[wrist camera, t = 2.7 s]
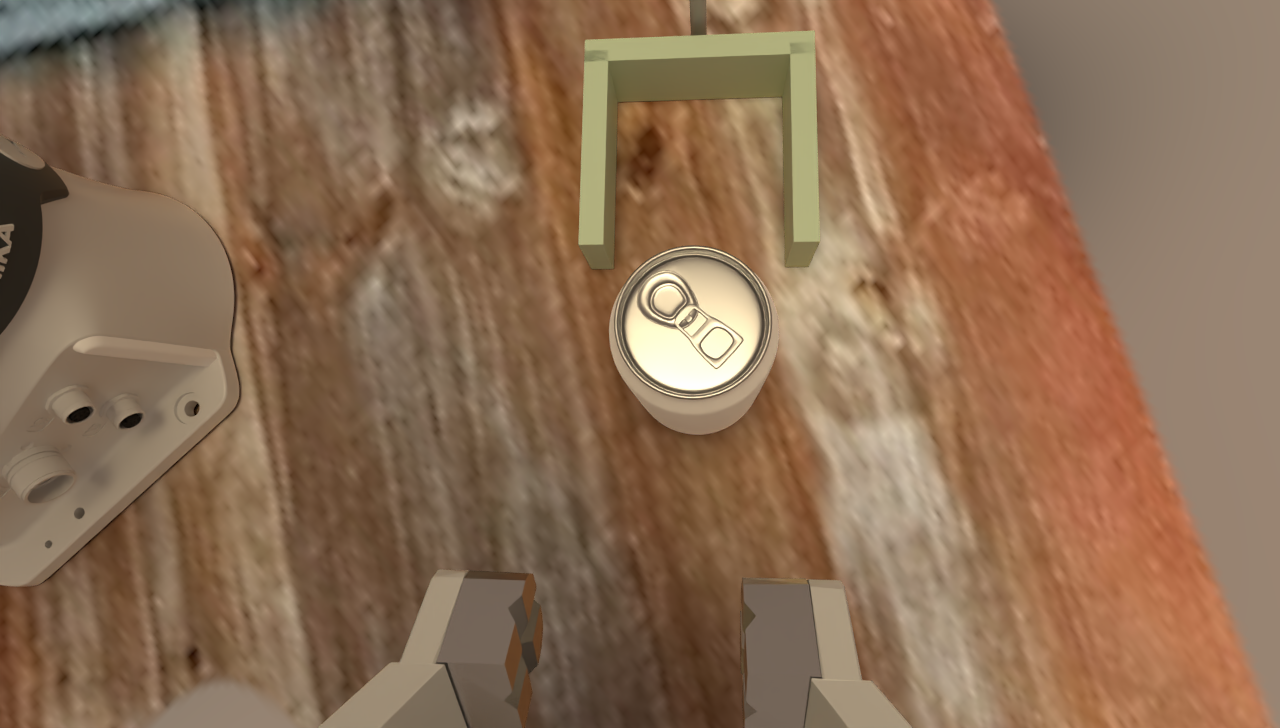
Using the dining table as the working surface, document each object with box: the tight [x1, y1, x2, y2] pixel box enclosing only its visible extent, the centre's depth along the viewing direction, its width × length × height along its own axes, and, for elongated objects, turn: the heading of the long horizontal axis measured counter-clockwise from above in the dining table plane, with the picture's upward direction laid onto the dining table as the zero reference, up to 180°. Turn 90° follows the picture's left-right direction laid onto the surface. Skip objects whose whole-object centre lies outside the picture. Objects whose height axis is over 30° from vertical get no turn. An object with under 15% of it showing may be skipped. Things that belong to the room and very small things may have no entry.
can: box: [609, 246, 779, 435], centre depth 32 cm, size 6×6×12 cm
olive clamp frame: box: [578, 0, 820, 269], centre depth 33 cm, size 15×11×14 cm
